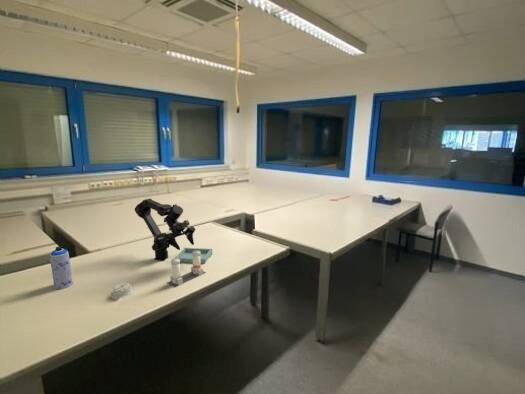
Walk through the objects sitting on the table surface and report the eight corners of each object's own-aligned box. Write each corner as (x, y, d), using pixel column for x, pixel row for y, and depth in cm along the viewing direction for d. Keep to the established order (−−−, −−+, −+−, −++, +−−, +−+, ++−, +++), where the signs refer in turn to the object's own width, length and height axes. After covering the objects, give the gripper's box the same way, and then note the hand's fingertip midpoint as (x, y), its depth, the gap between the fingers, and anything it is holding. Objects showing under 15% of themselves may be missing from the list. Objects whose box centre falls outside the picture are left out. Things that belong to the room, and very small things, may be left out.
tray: (175, 263, 165) (174, 257, 165) (184, 252, 181) (184, 247, 180) (205, 265, 164) (205, 259, 163) (212, 254, 180) (212, 248, 179)
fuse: (170, 284, 140) (169, 261, 138) (174, 280, 144) (173, 258, 142) (179, 284, 140) (178, 262, 137) (182, 280, 144) (181, 258, 141)
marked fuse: (191, 274, 150) (191, 253, 148) (194, 270, 154) (193, 250, 152) (199, 275, 150) (198, 253, 147) (201, 271, 154) (201, 250, 152)
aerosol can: (66, 279, 145) (61, 243, 141) (76, 282, 142) (71, 245, 138) (50, 287, 138) (44, 248, 133) (60, 290, 135) (55, 251, 131)
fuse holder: (166, 284, 142) (166, 277, 141) (197, 270, 157) (197, 263, 156) (175, 289, 137) (174, 281, 137) (206, 274, 153) (206, 267, 152)
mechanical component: (129, 300, 128) (137, 289, 138) (128, 291, 127) (137, 280, 137) (106, 300, 127) (117, 289, 137) (105, 291, 127) (116, 280, 136)
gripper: (164, 219, 147) (178, 244, 143) (192, 212, 161) (206, 235, 157) (156, 231, 153) (169, 255, 149) (184, 223, 168) (197, 245, 163)
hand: (186, 247), depth 154 cm, fingers open, 9 cm apart
